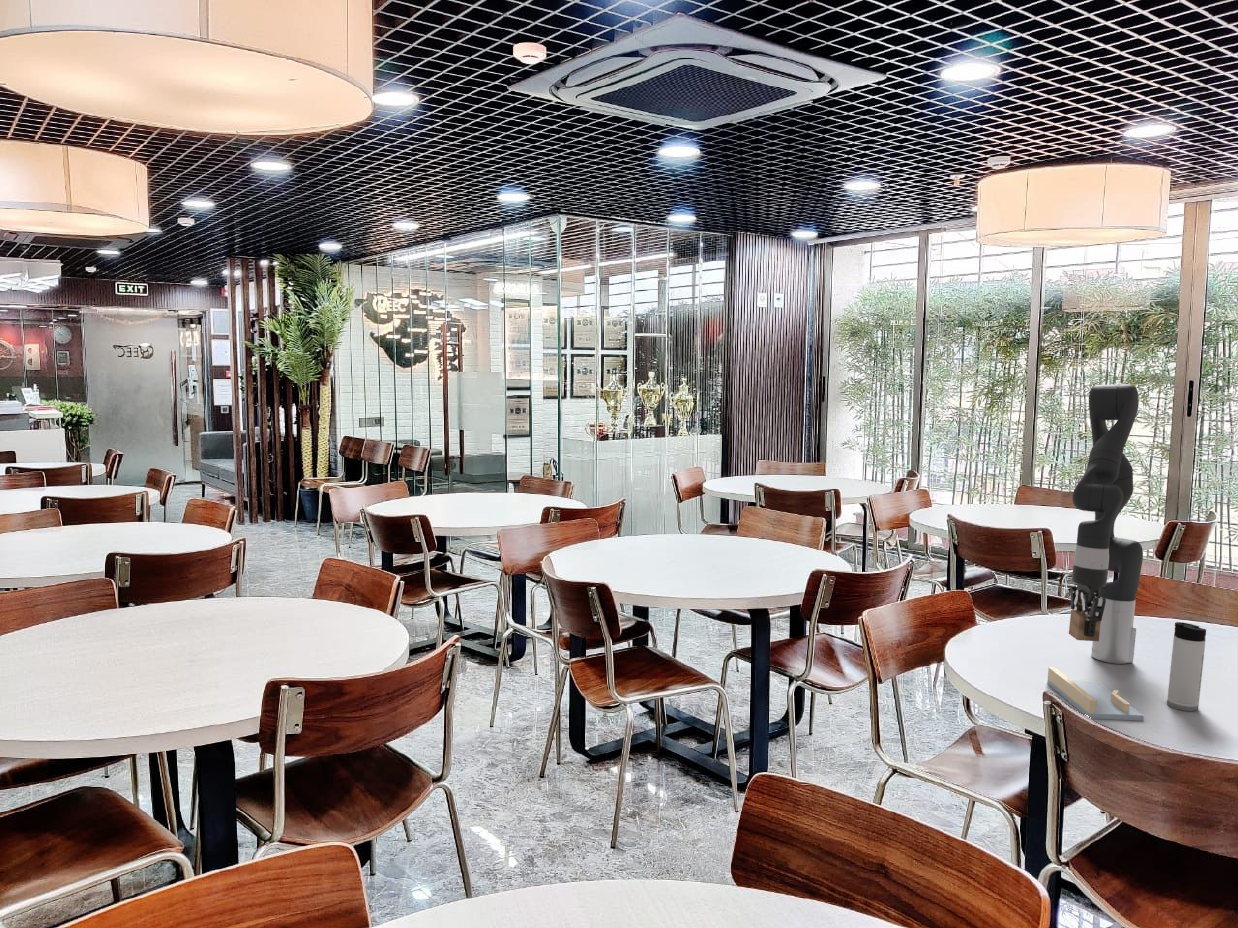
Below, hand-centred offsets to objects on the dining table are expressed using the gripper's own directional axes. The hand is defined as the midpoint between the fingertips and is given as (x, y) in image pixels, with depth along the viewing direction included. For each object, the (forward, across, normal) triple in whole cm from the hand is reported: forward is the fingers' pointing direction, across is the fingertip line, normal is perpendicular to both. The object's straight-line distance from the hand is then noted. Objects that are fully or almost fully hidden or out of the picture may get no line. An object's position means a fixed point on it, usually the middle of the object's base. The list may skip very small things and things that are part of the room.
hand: (1083, 632), depth 220 cm
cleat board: (+14, -8, 0) cm, 16 cm away
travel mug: (+14, -9, -20) cm, 26 cm away
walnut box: (+1, 0, 0) cm, 1 cm away
